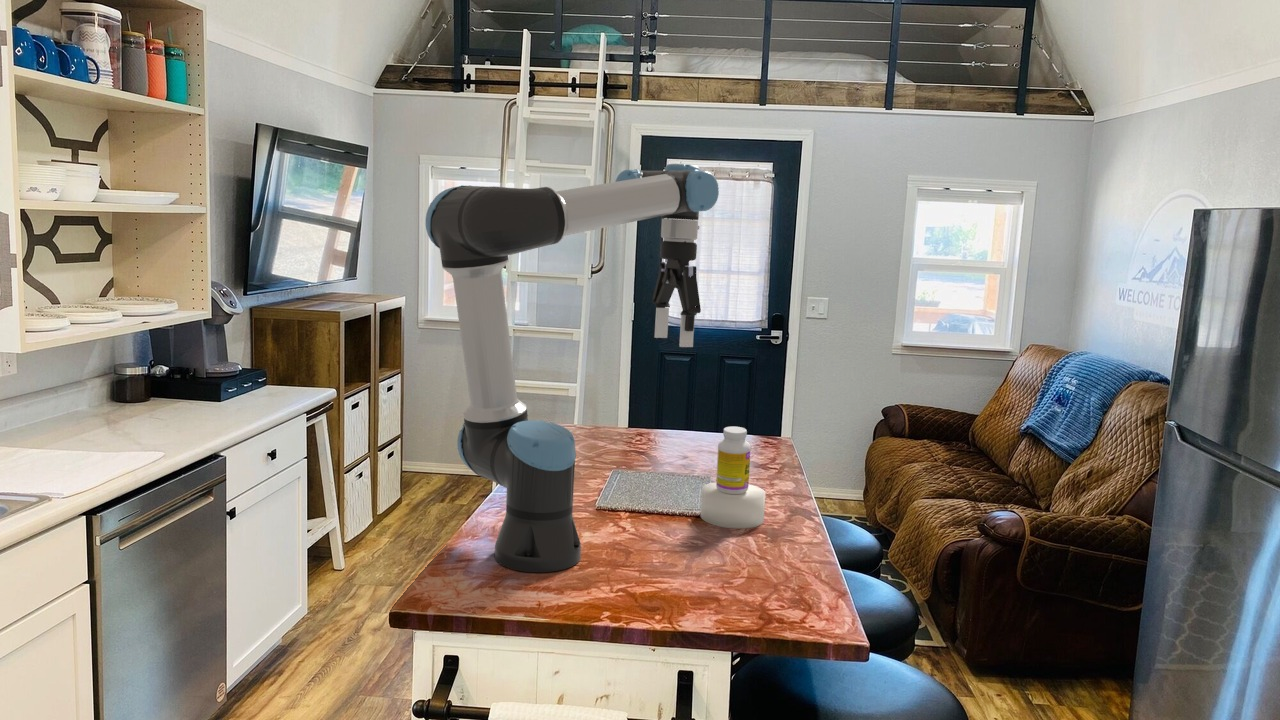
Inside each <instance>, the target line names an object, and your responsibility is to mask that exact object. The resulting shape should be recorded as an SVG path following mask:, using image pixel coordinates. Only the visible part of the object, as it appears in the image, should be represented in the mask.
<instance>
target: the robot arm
mask: <svg viewBox="0 0 1280 720" xmlns="http://www.w3.org/2000/svg"><path fill="white" fill-rule="evenodd" d="M719 192H720V191H719V183H718V181H717V178H716V176H714V174H712V173H711V172H709V171H707V170H701V168H700V167H699V166H697V165H695V164H687V163H685V164H684V163H669V164H666V165H665V168H664V170H641V169H637V168H635V169H624V170H622V171H620V173H619V174H618V176H616V179H615V181H612V182H607V183H606V182H605V183H600V184H595V185H594V184H593V185H588V186H583V187H574V188H569V189H563V190H557V191H556V190H555V189H553V188H551V187H550V186H541V187H537V188H536V187H535V188H517V187H505V186H504V187H503V186H494V185H493V186H485V185H484V186H483V185H480V186H479V185H459V186H454V187H449V188H446V189H444V190H442V191H441V192H439V193H438V194H437V195H436V196H435V197H433V199H432V201H431V202H430V203H429V205H428V208H427V211H426V216H425V230H426V233H427V237H428V238H429V240H430V241H431V242H432V243H433V244H434V246H435V247H436V248H438V249H439V253H440V260H441V261H440V262H441V267H442V269H443V270H444V271H446V272H447V273H448V274H450V275H451V278H452V281H453V288H454V294H455V295H454V297H455V301H456V302H455V305H456V309H457V318H458V325H459V331H460V337H461V339H460V340H461V344H462V345H461V346H462V354H463V359H464V360H463V361H464V368H465V375H466V382H467V389H468V397H469V403H470V404H469V406H468V407H467V408H466V410H465V411H464V412H463V423H462V428H461V429H460V430H459V432H458V435H457V445H456V446H457V451H458V455H459V457H460V459H461V461H462V462H463V463H464V465H465V466H466V467H467V468H468V469H469V470H471V471H472V472H474V473H473V474H475V475H477V476H479V477H481V478H483V479H486V480H489V481H491V482H493V483H495V484H498V485H499V486H502V487H504V488H505V489H506V499H505V500H506V501H505V502H506V507H505V509H506V510H505V515H504V516H505V517H504V519H503V521H502V524H501V527H500V529H499V533H498V536H497V539H496V541H495V545H494V559H495V561H496V562H497V563H498V564H499V565H501V566H502V567H505V568H508V569H510V570H514V571H518V572H519V571H520V572H527V573H551V572H559V571H563V570H566V569H569V568H571V567H574V566H575V565H577V564H578V563H579V562H580V560H581V557H582V555H581V553H582V544H581V542H580V541H581V540H580V538H579V533H578V530H577V527H576V524H575V521H574V516H573V511H574V510H573V509H574V506H573V505H574V486H575V485H574V484H575V468H576V467H575V466H576V459H577V453H576V444H575V443H576V442H575V441H576V440H575V436H574V435H573V433H572V432H571V431H570V430H569V429H568V428H566V427H564V426H562V425H560V424H558V423H555V422H546V420H535V419H534V420H532V419H531V420H529V415H528V407H527V404H526V403H525V402H523V401H521V400H520V399H519V398H518V395H517V393H518V392H517V385H516V378H515V372H514V371H515V370H514V364H513V363H514V362H513V354H512V353H513V352H512V345H511V339H510V338H511V337H510V331H509V323H508V314H507V306H506V298H505V289H504V282H503V274H502V273H503V272H502V271H503V269H504V267H506V265H507V263H508V262H509V258H510V257H509V256H510V255H516V254H519V253H523V252H527V251H532V250H534V249H538V248H543V247H547V246H551V245H556V244H558V243H560V242H562V240H563V239H564V236H565V237H566V236H570V235H575V234H579V233H584V232H589V231H594V230H599V229H604V228H609V227H615V226H619V225H624V224H629V223H634V222H638V221H644V220H648V219H653V218H658V217H661V227H660V237H661V238H662V239H663V240H662V241H660V253H659V255H660V256H659V257H660V259H663V260H666V261H660V262H659V268H658V269H659V270H658V275H657V278H656V283H655V286H654V290H653V295H652V298H651V302H652V304H654V306H655V323H654V338H656V339H668V334H669V333H668V332H669V316H670V315H669V313H670V307H671V305H670V303H669V302H670V300H671V298H672V295H673V294H674V291H675V289H676V290H677V293H678V297H679V301H680V305H681V309H682V311H680V325H679V326H680V327H679V329H680V330H679V344H678V345H679V348H693V347H694V334H695V320H696V316H697V314H700V313H701V312H702V310H701V302H700V294H699V287H698V281H697V266H696V265H690V261H691V262H692V261H696V260H697V253H698V251H697V250H698V244H697V243H696V242H695V241H696V240H697V239H698V231H699V230H700V226H699V216H700V214H699V213H700V212H707V211H710V210H711V209H712V208H713V207H714V206H715V205H716V203H717V201H718V198H719Z"/></svg>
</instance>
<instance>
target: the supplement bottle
mask: <svg viewBox="0 0 1280 720" xmlns="http://www.w3.org/2000/svg"><path fill="white" fill-rule="evenodd" d="M747 434H748V431H747V429H746V428H745V427H742V426H741V427H740V426H726V427H724V428H723V439H721V440H720V441H719V443H718V444H717V461H716V462H717V463H716V478H715V479H716V487H717V489H718V490H719V491H721V492H723V493H727V494H742V493H744V492H746V491H747V490H748V486H749V483H750V466H751V444H750V442H748V441H747V440H746V438H747V436H748V435H747Z"/></svg>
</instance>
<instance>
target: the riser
mask: <svg viewBox="0 0 1280 720" xmlns="http://www.w3.org/2000/svg"><path fill="white" fill-rule="evenodd" d="M700 502H701V503H700V518H701V519H702V520H703V521H704V522H706V523H708V524H711V525H712V526H716V527H720V528H727V529H740V530H741V529H752V528H756V527H758V526H759V527H760V526H761V525H762V524H764V521H765V506H766V491H765V490H764V489H763V488H761V487H759V486H757V485H755V484H754V485H753V484H749V486H748V490H747V491H746V492H744V493H742V494H727V493H723V492H721V491H719V490H718V489H717V487H716V482H710V483H706V484H705V485H703V486H702V488H701V501H700Z"/></svg>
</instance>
